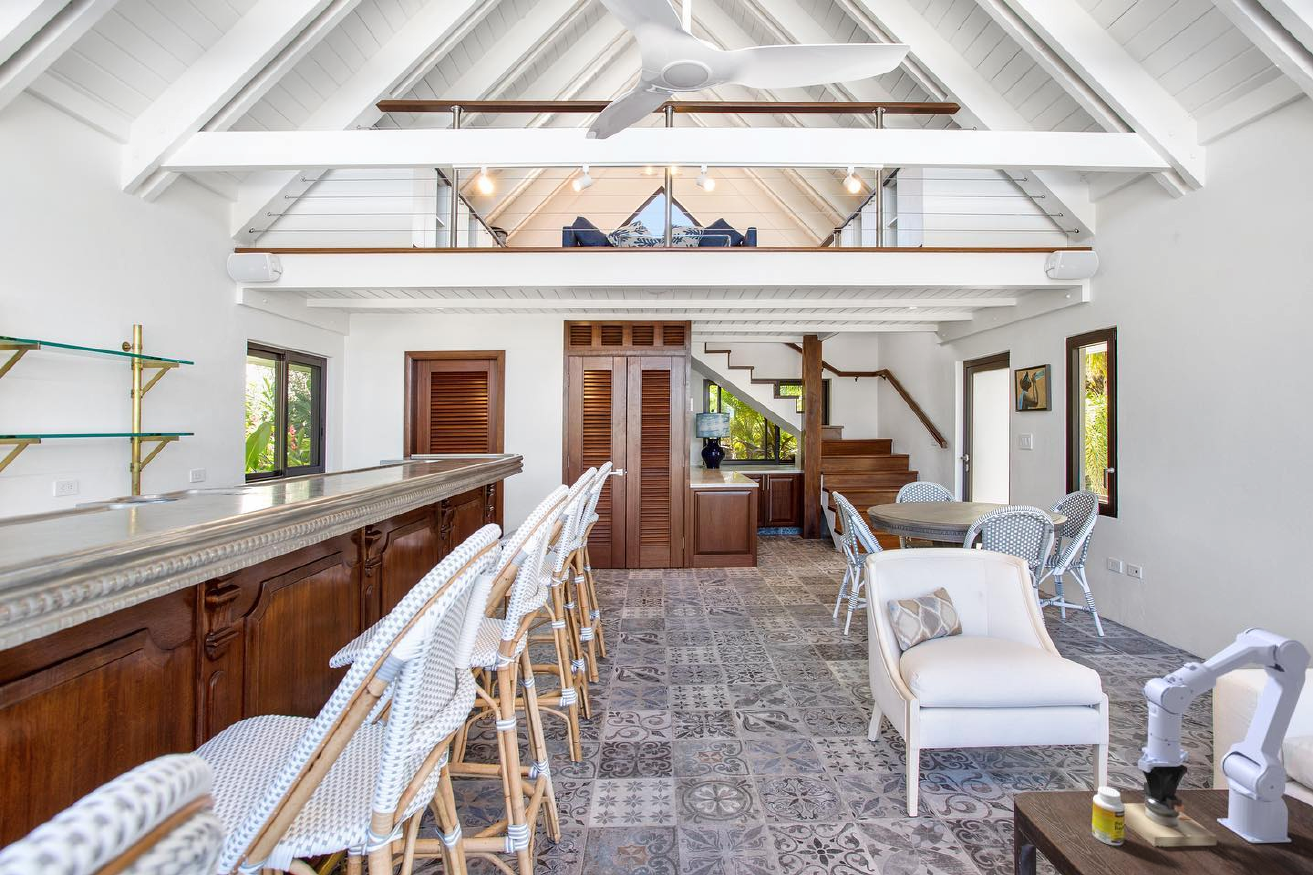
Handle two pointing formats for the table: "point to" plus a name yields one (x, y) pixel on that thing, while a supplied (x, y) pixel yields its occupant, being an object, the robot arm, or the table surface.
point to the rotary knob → (1164, 803)
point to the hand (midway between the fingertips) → (1162, 797)
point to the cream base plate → (1166, 828)
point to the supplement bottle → (1108, 816)
